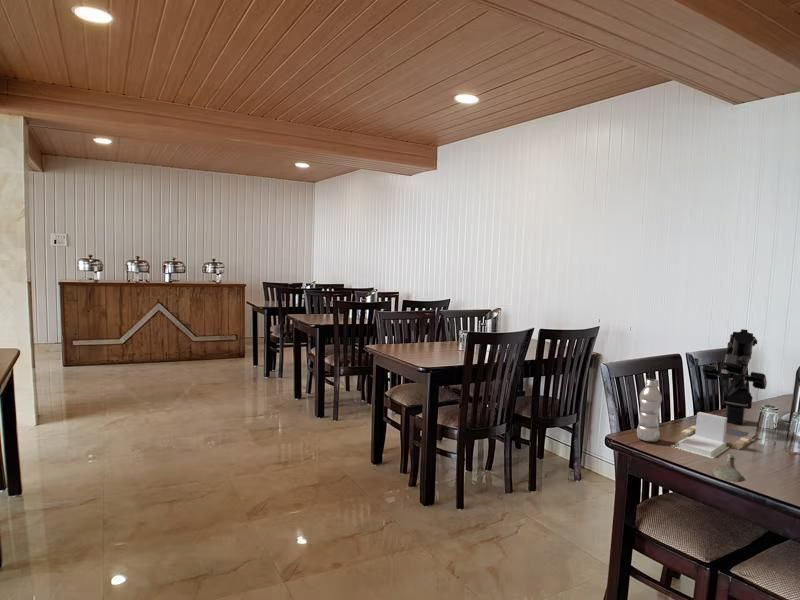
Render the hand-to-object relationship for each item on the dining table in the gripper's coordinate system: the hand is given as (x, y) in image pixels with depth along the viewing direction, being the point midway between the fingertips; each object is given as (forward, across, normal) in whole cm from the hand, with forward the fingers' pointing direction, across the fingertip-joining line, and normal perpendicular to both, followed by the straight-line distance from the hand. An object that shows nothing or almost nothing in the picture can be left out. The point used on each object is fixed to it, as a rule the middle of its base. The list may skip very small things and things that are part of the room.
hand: (726, 395), depth 176 cm
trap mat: (+6, 0, +13) cm, 14 cm away
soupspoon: (+36, +11, -15) cm, 40 cm away
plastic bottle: (+32, -13, -12) cm, 37 cm away
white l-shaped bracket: (+26, 0, -7) cm, 26 cm away
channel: (+15, 0, +4) cm, 16 cm away
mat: (+26, 0, -7) cm, 27 cm away
